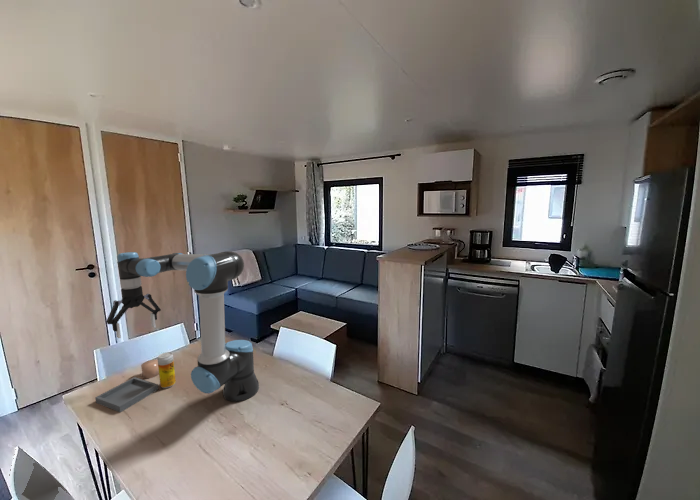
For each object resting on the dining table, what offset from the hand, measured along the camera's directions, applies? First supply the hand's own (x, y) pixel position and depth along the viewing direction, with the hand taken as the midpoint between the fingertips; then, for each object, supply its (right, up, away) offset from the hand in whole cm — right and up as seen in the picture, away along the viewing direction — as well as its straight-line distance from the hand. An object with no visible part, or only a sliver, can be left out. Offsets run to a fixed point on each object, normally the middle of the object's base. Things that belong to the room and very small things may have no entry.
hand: (137, 332), depth 134 cm
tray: (0, -27, -5) cm, 27 cm away
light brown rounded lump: (-1, -24, +12) cm, 27 cm away
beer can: (+12, -26, +3) cm, 29 cm away
